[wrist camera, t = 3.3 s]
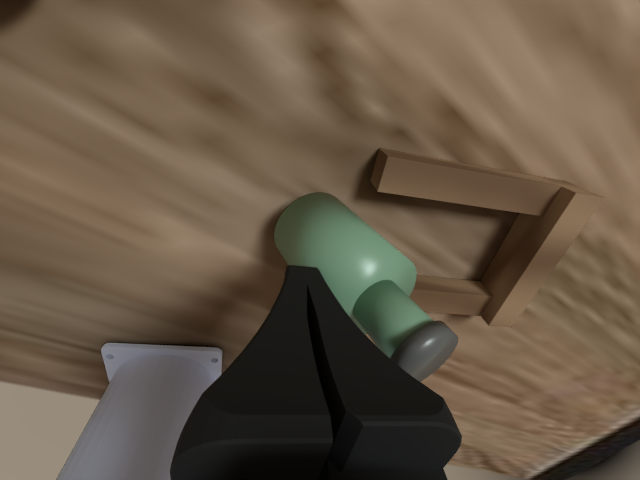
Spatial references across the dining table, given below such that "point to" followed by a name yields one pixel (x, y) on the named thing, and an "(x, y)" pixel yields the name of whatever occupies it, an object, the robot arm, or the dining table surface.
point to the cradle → (519, 244)
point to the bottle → (365, 280)
